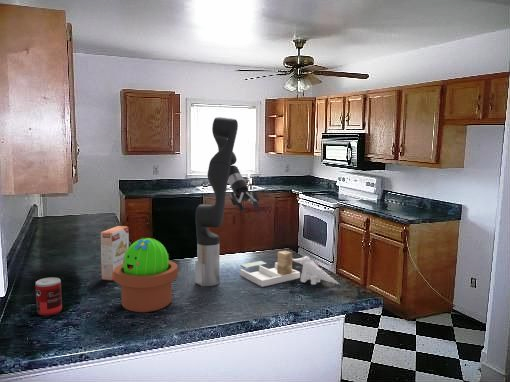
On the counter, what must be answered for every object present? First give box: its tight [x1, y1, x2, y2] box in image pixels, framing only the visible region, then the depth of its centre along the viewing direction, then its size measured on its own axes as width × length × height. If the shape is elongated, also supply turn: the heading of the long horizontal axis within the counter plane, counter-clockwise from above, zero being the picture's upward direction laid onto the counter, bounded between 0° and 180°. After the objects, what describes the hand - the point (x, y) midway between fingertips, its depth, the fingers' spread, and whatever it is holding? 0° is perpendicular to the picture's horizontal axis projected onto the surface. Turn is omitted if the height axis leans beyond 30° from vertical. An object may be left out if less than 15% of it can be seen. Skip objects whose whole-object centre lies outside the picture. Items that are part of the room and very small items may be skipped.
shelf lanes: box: [239, 261, 301, 287], centre depth 180 cm, size 20×17×4 cm
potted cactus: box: [113, 236, 179, 313], centre depth 150 cm, size 22×22×25 cm
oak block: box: [276, 250, 293, 275], centre depth 178 cm, size 4×4×11 cm
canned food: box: [35, 276, 63, 317], centre depth 143 cm, size 8×8×11 cm
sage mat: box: [240, 260, 267, 269], centre depth 196 cm, size 12×12×1 cm
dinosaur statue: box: [292, 255, 340, 285], centre depth 173 cm, size 7×24×11 cm, turn 52°
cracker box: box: [100, 225, 130, 281], centre depth 181 cm, size 14×6×21 cm, turn 168°
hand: (250, 210), depth 199 cm, fingers open, 8 cm apart
